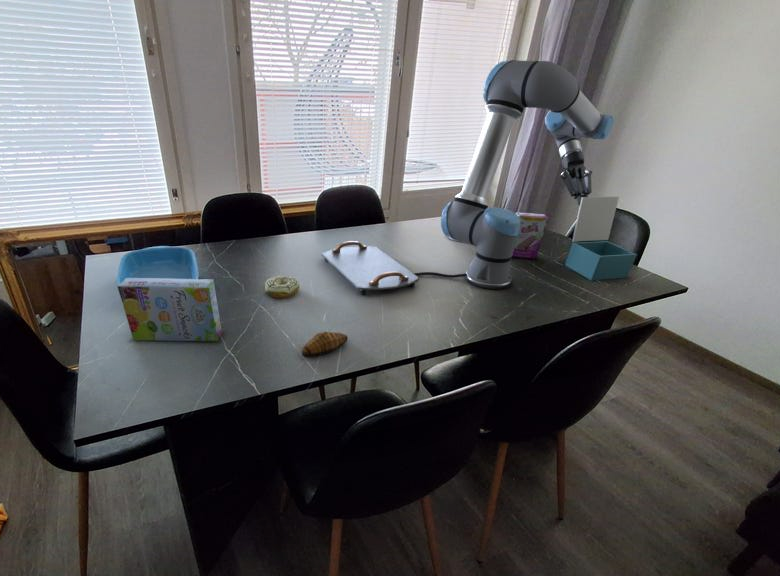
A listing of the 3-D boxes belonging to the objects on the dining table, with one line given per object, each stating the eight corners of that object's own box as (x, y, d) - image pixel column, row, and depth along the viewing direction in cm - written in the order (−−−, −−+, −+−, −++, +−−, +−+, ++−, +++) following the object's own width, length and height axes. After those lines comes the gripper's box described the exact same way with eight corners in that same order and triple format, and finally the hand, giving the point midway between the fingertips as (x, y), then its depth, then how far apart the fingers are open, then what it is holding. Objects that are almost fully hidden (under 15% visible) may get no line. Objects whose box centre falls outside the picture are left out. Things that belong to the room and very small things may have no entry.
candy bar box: (507, 257, 165) (518, 215, 156) (505, 253, 169) (515, 211, 160) (536, 259, 164) (549, 217, 155) (533, 255, 169) (545, 213, 159)
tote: (626, 277, 152) (637, 254, 147) (591, 280, 149) (600, 256, 144) (598, 262, 164) (607, 240, 159) (564, 265, 161) (572, 242, 156)
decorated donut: (261, 297, 127) (259, 286, 125) (271, 283, 136) (270, 272, 134) (294, 301, 126) (293, 289, 124) (302, 286, 135) (302, 275, 133)
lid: (619, 196, 152) (617, 196, 153) (583, 197, 149) (581, 197, 149) (608, 239, 158) (606, 239, 159) (573, 241, 155) (572, 241, 156)
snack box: (222, 331, 110) (214, 278, 101) (217, 342, 105) (208, 288, 97) (140, 330, 109) (125, 276, 100) (132, 341, 104) (115, 285, 96)
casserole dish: (205, 308, 120) (201, 285, 116) (119, 319, 113) (112, 295, 109) (196, 262, 148) (193, 242, 144) (127, 269, 141) (121, 248, 137)
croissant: (310, 364, 99) (310, 346, 96) (295, 351, 103) (294, 334, 101) (354, 347, 106) (355, 330, 103) (338, 335, 110) (339, 319, 108)
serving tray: (317, 257, 157) (317, 241, 153) (371, 250, 165) (372, 235, 162) (361, 300, 128) (362, 282, 125) (425, 290, 136) (427, 272, 133)
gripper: (578, 162, 167) (592, 216, 163) (550, 162, 164) (564, 217, 160) (592, 150, 159) (608, 206, 156) (563, 149, 156) (578, 207, 153)
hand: (585, 212), depth 158 cm, fingers closed
